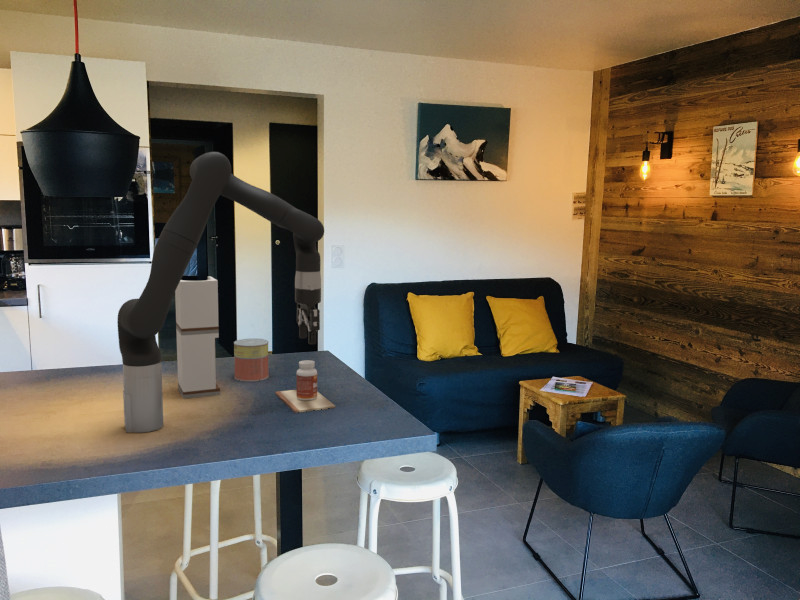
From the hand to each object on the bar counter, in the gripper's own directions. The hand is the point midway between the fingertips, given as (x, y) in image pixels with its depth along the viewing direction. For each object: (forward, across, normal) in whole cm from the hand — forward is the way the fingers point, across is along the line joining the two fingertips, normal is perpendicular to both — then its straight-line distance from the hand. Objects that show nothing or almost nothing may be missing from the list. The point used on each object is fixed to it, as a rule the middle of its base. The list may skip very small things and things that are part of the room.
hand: (307, 341), depth 191 cm
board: (+18, 0, -1) cm, 18 cm away
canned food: (+18, -32, -9) cm, 38 cm away
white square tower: (+18, -21, -28) cm, 40 cm away
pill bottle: (+18, 0, 0) cm, 18 cm away
